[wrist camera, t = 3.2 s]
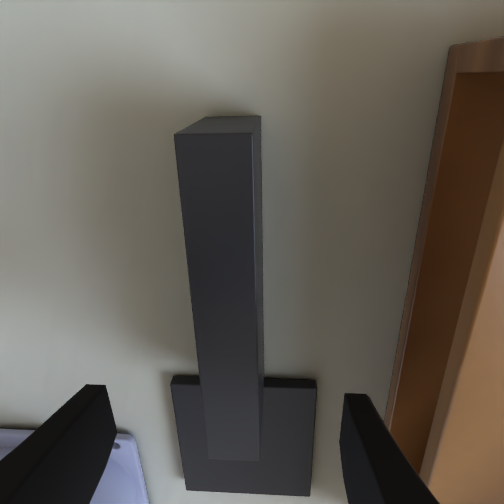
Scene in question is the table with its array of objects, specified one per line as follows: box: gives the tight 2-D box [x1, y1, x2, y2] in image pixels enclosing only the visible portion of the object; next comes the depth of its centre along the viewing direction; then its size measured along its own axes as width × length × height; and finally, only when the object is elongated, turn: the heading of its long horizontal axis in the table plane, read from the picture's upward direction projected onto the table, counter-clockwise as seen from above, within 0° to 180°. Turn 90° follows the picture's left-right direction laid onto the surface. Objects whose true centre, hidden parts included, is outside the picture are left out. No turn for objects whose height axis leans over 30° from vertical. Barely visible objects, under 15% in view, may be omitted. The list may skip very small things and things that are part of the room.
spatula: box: [170, 116, 317, 497], centre depth 16 cm, size 7×20×4 cm, turn 1°
